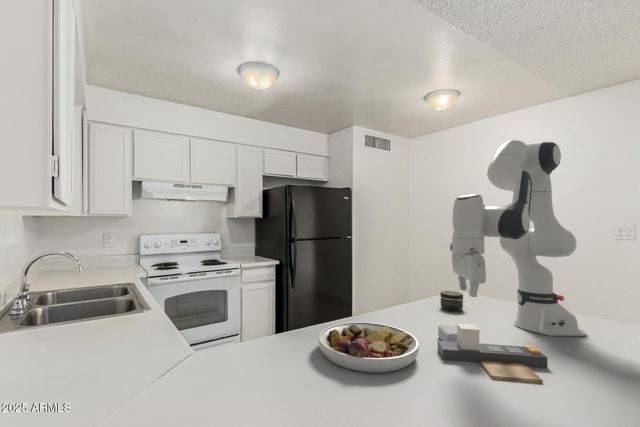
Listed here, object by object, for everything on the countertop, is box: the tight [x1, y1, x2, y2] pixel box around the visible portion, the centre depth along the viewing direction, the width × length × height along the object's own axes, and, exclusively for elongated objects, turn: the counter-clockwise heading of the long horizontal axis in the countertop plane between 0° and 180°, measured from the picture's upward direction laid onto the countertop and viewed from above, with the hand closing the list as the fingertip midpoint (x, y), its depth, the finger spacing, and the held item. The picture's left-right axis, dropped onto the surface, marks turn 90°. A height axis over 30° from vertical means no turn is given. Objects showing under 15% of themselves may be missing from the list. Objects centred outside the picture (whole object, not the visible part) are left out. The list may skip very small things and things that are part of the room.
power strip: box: [437, 340, 548, 369], centre depth 93 cm, size 28×7×4 cm, turn 81°
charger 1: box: [437, 324, 457, 342], centre depth 108 cm, size 5×9×15 cm
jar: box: [439, 290, 464, 312], centre depth 147 cm, size 10×10×8 cm
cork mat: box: [479, 361, 544, 384], centre depth 84 cm, size 12×9×1 cm
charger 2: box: [456, 323, 480, 350], centre depth 94 cm, size 5×4×8 cm
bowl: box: [318, 321, 420, 374], centre depth 95 cm, size 30×30×8 cm
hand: (467, 293), depth 94 cm, fingers open, 8 cm apart
